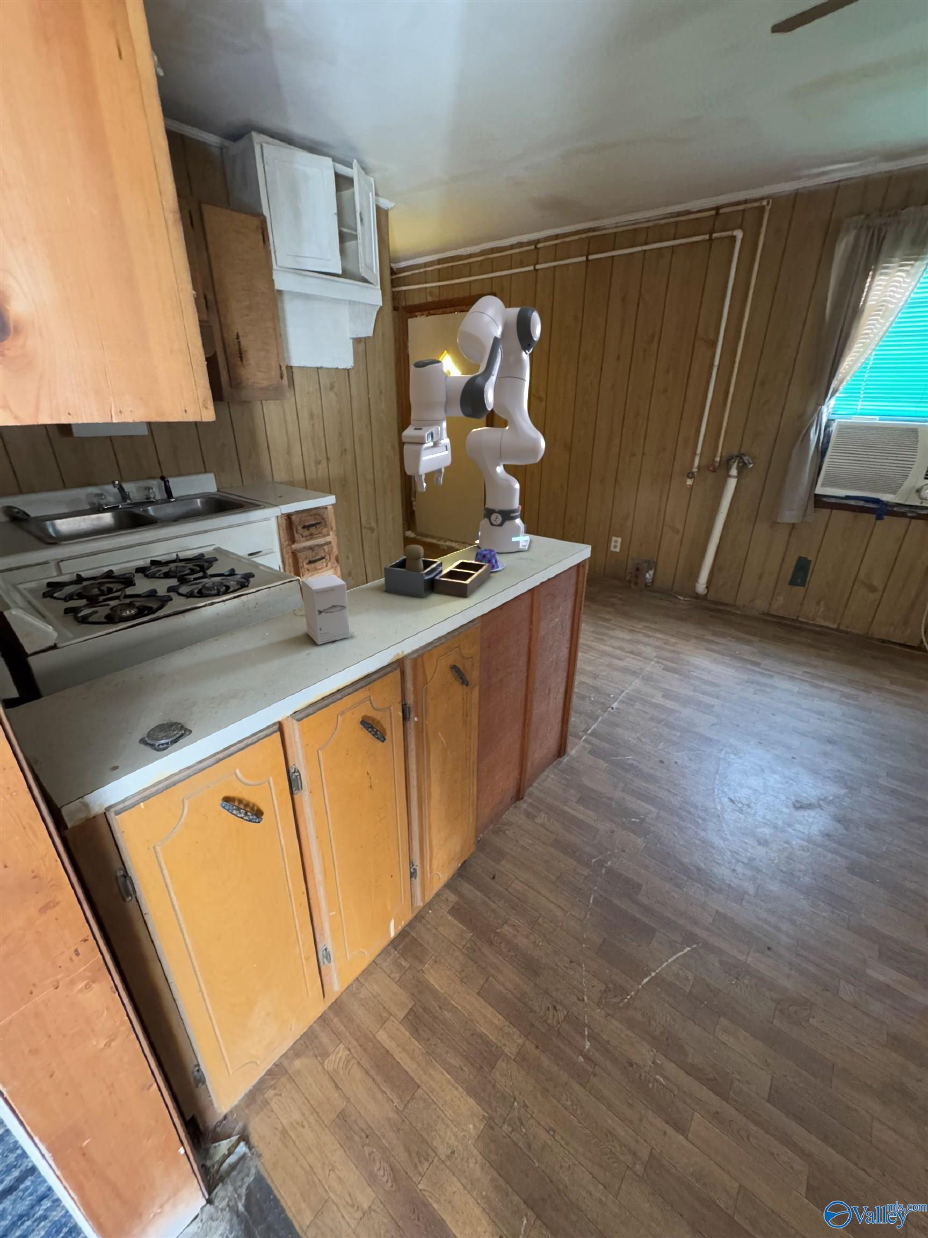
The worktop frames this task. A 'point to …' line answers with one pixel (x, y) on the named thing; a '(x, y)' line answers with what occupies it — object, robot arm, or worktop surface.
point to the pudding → (489, 559)
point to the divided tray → (462, 578)
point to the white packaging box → (326, 608)
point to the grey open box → (411, 578)
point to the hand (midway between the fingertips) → (430, 488)
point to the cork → (414, 558)
